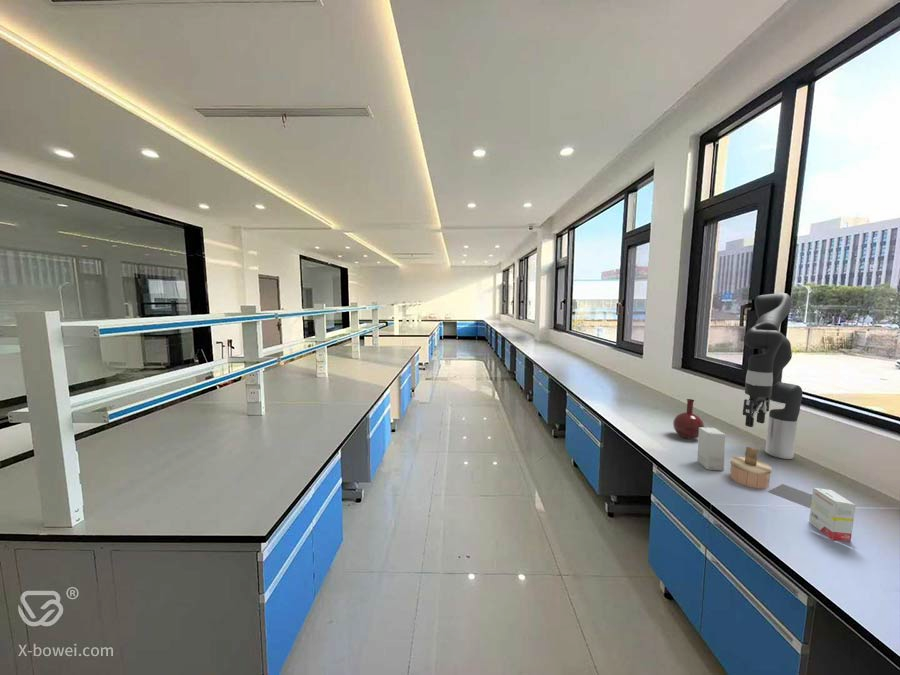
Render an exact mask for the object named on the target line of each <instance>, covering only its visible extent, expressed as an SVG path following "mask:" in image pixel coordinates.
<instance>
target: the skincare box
mask: <svg viewBox="0 0 900 675" xmlns="http://www.w3.org/2000/svg"><path fill="white" fill-rule="evenodd" d="M697 439H698V441H697V442H698V443H697V460H696V461H697V462H698V463H699V464H700V465H701V466H703V467H704V468H705V469H706V470H709V471H711V470H712V471H719V472H721V471H724V466H725V450H726V449H725V448H726V433H723V431H720V430H719V429H717V428H715V427H705V428H703V427H699V437H698V438H697Z"/></svg>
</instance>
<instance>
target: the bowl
mask: <svg viewBox="0 0 900 675" xmlns="http://www.w3.org/2000/svg"><path fill="white" fill-rule="evenodd" d="M729 476H730V479H731V480H733V481H735V482H736V483H738V484H741V485H744V486H746V487H750V488H754V489H767V488H768V487H770V486H769V485H770V477H771V473H770V474H756V473H751V472H747V471H744V470H741V469H739V468H737V467H735V466H733V465H732V464H731V463H730V474H729Z"/></svg>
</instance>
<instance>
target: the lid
mask: <svg viewBox="0 0 900 675" xmlns="http://www.w3.org/2000/svg"><path fill="white" fill-rule="evenodd" d="M758 452H759V449H758V448H756V447H752V446H746V448H745V456H733V457H730V465H731V464H732V465H733V466H735V467H737V468H739V469H741V470H744V471H747V472H751V473H756V474H770V475H771V473H772V469H773V468H772V467H771V465H769V464H768V463H766V462H763V461H760V460H758Z"/></svg>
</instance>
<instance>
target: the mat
mask: <svg viewBox="0 0 900 675" xmlns="http://www.w3.org/2000/svg"><path fill="white" fill-rule="evenodd" d="M767 493H769V494H772V495H775V496H777V497H780V498H782V499H785V500H787V501H791V502H793V503H796V504H798V505H800V506H803V507H806V508H808V509H811V502H812V495H813V493H809V492H806V491H803V490H800V489H797V488H795V487H792V486H789V485H786V484H783V483H781V484H780V485H778V486H775V487H774V488H771V489H770V490H768V491H767Z"/></svg>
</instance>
